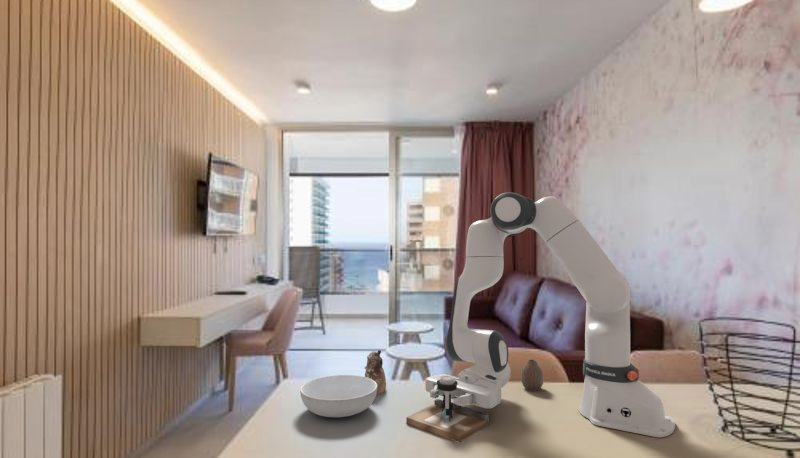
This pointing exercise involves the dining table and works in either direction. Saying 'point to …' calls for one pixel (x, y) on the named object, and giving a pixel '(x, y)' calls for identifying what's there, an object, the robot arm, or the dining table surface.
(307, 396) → the serving bowl
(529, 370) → the vase
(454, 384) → the push button
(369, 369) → the figurine
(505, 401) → the dining table surface
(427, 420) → the brown board with label
